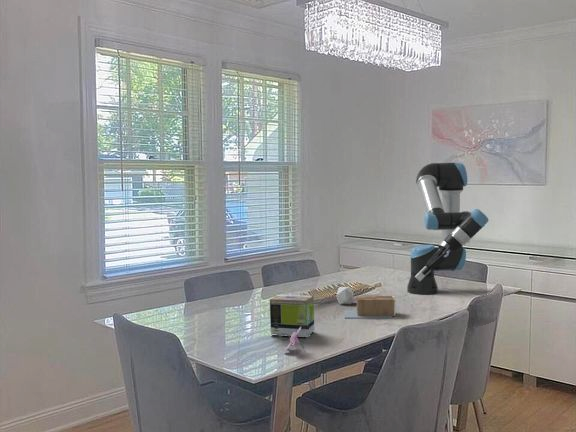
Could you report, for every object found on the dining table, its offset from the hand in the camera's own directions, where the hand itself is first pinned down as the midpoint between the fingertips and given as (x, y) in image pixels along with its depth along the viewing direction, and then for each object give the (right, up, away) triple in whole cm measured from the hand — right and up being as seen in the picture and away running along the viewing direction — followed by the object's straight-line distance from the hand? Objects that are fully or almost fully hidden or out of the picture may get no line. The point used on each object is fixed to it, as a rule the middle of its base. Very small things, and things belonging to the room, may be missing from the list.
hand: (417, 278), depth 256 cm
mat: (-21, -16, +3) cm, 26 cm away
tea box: (-54, -19, -24) cm, 62 cm away
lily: (-53, -21, -45) cm, 73 cm away
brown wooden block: (-10, -12, +2) cm, 15 cm away
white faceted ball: (-29, -14, +24) cm, 40 cm away
